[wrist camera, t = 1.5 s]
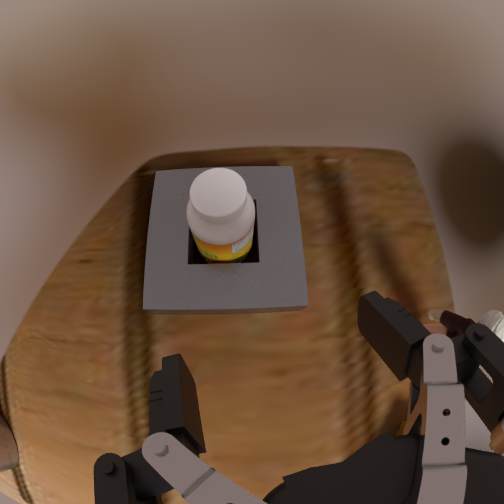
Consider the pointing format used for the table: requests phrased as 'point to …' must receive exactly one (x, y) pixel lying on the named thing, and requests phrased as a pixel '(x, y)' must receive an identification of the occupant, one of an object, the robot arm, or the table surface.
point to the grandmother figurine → (463, 323)
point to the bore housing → (232, 274)
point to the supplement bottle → (221, 216)
